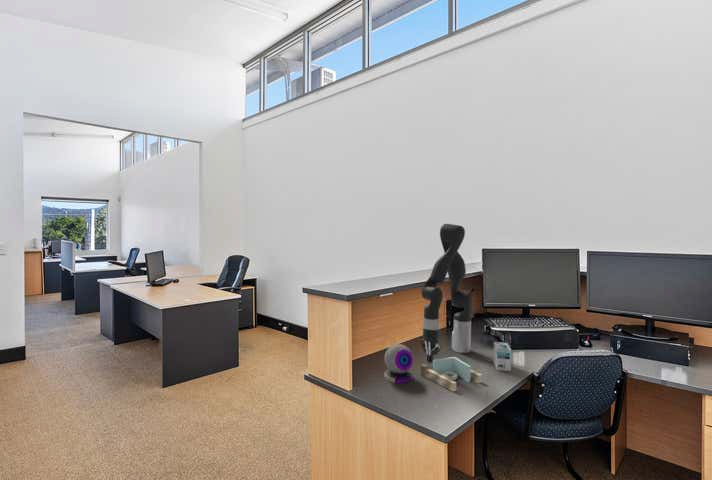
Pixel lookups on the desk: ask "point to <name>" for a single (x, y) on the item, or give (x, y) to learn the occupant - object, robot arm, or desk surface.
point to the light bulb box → (502, 356)
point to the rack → (444, 380)
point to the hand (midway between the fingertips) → (429, 362)
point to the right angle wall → (452, 368)
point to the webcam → (398, 364)
